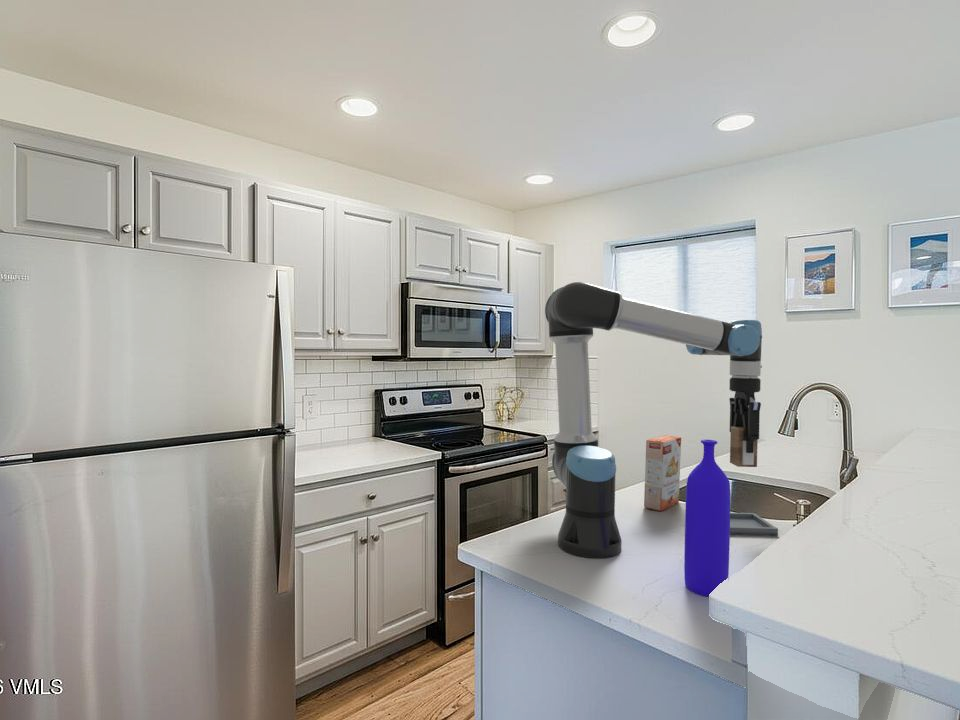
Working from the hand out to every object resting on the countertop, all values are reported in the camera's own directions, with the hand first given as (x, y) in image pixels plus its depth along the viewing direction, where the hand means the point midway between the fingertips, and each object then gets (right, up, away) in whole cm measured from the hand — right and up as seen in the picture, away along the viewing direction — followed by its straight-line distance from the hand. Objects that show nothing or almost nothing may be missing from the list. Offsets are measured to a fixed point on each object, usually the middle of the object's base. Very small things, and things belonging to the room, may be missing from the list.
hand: (743, 462), depth 144 cm
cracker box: (-15, -17, +19) cm, 30 cm away
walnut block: (0, -1, 0) cm, 1 cm away
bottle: (-26, -18, -37) cm, 49 cm away
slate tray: (0, -18, 0) cm, 18 cm away
